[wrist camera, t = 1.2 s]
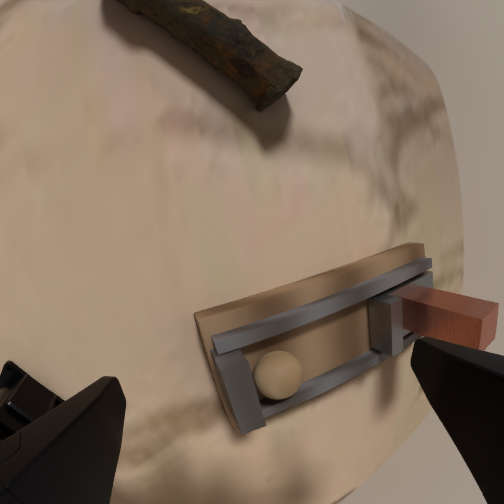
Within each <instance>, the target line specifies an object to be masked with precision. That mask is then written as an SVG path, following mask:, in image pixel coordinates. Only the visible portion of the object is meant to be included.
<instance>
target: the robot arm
mask: <svg viewBox="0 0 504 504" xmlns="http://www.w3.org/2000/svg"><path fill="white" fill-rule="evenodd" d="M9 366H10V367H11V368H12V370H11V369H10V368H9ZM411 367H412V370H413V372H414V373H415V375H416V377H417V379H418V381H419V383H420V385H421V387H422V389H423V391H424V393H425V395H426V397H427V399H428V401H429V403H430V405H431V406H432V408H433V409H434V411H435V412H436V414H437V416H438V417H439V419H440V421H441V422H442V423H443V425H444V427H445V429H446V430H447V432H448V433H449V435H450V437H451V438H452V440H453V442H454V444H455V445H456V447H457V449H458V450H459V452H460V454H461V456H462V457H463V459H464V461H465V462H466V464H467V466H468V468H469V470H470V471H471V473H472V475H473V477H474V479H475V480H476V482H477V484H478V486H479V488H480V490H481V492H482V494H483V496H484V498H485V500H486V502H487V504H504V356H502V355H498V354H494V353H490V352H486V351H482V350H478V349H474V348H470V347H466V346H462V345H458V344H454V343H451V342H447V341H443V340H439V339H436V338H432V337H428V336H425V337H422V338H419V339H417V340H416V341H415V343H414V347H413V352H412V356H411ZM125 410H126V399H125V396H124V393H123V391H122V388H121V385H120V383H119V380H118V379H117V378H116V377H112V376H104V377H102V378H100V379H99V380H97V381H96V382H94V383H92V384H91V385H89V386H88V387H86V388H85V389H83V390H82V391H80V392H79V393H77V394H76V395H74V396H73V397H71V398H70V399H68V400H66V401H64V400H63V399H61V398H60V397H58V396H57V395H55V394H54V393H52V392H51V391H50V390H48V389H47V388H45V387H44V386H43V385H41V384H40V383H39V382H37V381H36V380H35V379H33V378H32V377H31V376H29V375H28V374H27V373H26V372H24V371H23V370H22V369H21V368H19V367H18V366H17V365H16V364H15V363H13V362H12V361H7V362H6V363H5V364H4V367H3V369H2V372H1V375H0V504H109V503H110V497H111V492H112V487H113V482H114V477H115V472H116V468H117V463H118V459H119V454H120V449H121V443H122V435H123V426H124V418H125Z"/></svg>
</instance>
